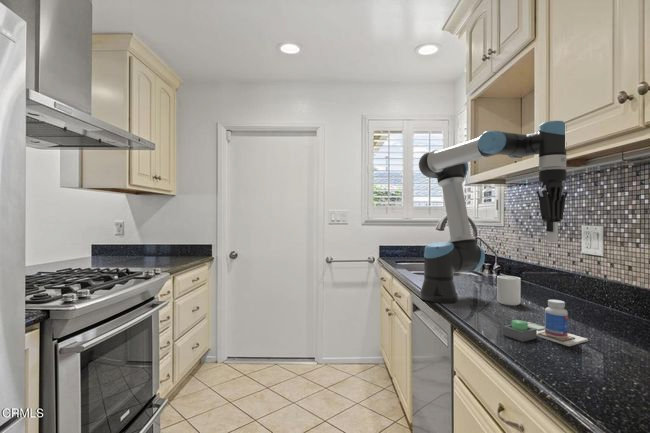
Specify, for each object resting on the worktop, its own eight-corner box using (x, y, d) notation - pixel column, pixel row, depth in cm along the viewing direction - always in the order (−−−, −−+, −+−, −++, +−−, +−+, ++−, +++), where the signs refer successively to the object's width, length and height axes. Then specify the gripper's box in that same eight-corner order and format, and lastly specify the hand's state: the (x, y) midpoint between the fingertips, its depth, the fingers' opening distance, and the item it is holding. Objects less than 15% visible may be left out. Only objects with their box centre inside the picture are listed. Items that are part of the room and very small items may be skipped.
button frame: (503, 334, 100) (503, 326, 100) (516, 331, 103) (516, 323, 103) (522, 341, 95) (522, 332, 95) (536, 338, 97) (536, 329, 97)
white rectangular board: (510, 327, 107) (510, 324, 107) (528, 323, 111) (528, 321, 111) (569, 346, 91) (569, 343, 91) (588, 341, 95) (588, 338, 95)
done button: (508, 333, 99) (508, 321, 99) (517, 331, 101) (517, 319, 101) (521, 337, 96) (521, 324, 96) (530, 335, 98) (530, 323, 98)
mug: (497, 297, 146) (497, 273, 146) (519, 299, 142) (519, 275, 142) (496, 304, 135) (497, 278, 135) (521, 306, 131) (521, 279, 131)
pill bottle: (569, 340, 94) (569, 304, 94) (546, 337, 96) (546, 302, 96) (565, 333, 99) (565, 300, 99) (543, 331, 101) (543, 298, 101)
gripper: (552, 166, 105) (551, 243, 105) (576, 169, 111) (576, 242, 111) (528, 169, 112) (528, 241, 112) (552, 172, 118) (552, 240, 118)
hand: (552, 241), depth 112 cm, fingers closed
